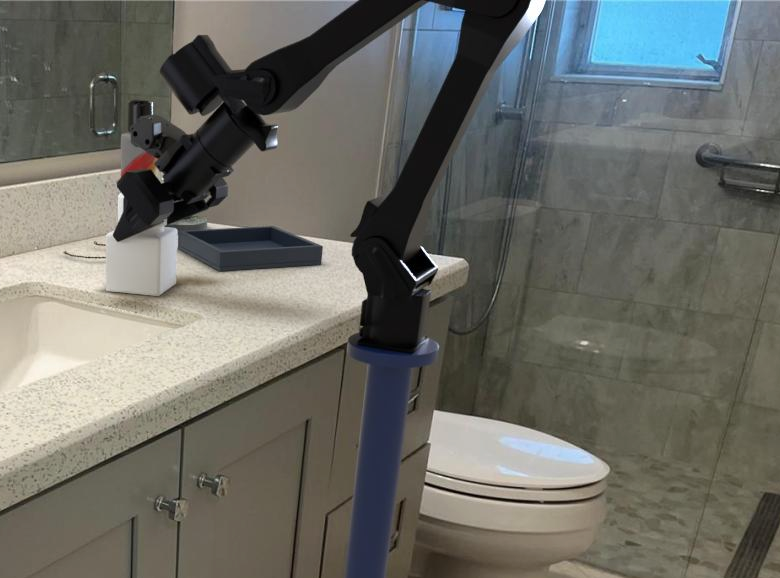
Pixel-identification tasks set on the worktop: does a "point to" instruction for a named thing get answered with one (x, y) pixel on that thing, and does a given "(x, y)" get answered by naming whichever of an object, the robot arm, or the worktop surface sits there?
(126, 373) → the worktop surface
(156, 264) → the medicine bottle
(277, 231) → the vanity tray
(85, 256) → the accessory
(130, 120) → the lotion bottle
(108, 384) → the worktop surface
